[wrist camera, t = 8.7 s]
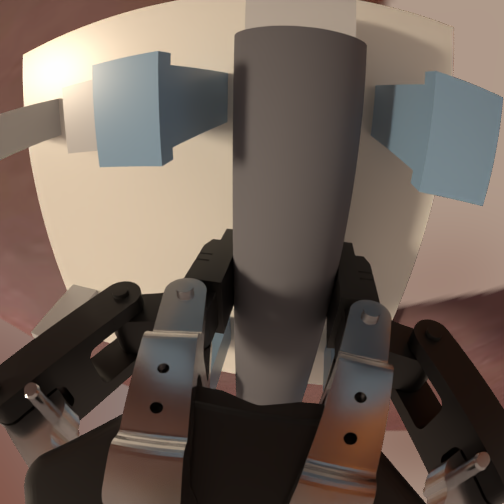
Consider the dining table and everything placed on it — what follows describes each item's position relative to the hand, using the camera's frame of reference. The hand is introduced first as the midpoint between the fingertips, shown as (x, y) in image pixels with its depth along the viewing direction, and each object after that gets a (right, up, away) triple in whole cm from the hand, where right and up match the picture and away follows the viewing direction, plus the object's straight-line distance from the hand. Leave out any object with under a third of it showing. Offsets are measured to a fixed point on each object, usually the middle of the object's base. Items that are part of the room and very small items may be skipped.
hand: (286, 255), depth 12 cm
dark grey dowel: (0, 0, 0) cm, 0 cm away
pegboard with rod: (-4, +2, +2) cm, 5 cm away
